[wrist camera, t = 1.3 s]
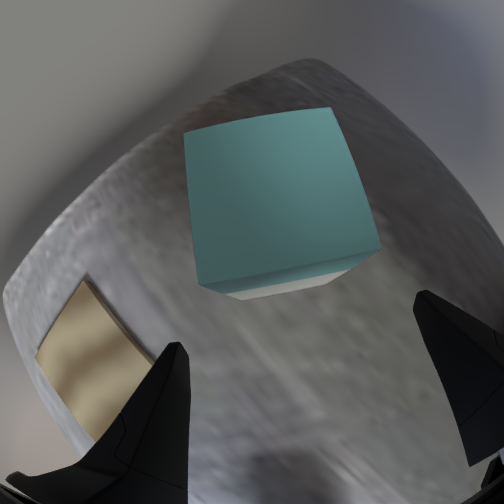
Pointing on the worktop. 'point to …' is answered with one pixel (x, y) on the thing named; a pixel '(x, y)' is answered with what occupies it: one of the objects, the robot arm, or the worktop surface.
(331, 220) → the aqua cube
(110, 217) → the worktop surface
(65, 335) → the oak board
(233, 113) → the worktop surface
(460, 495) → the worktop surface
